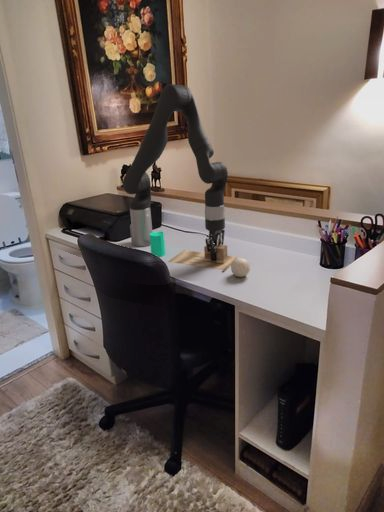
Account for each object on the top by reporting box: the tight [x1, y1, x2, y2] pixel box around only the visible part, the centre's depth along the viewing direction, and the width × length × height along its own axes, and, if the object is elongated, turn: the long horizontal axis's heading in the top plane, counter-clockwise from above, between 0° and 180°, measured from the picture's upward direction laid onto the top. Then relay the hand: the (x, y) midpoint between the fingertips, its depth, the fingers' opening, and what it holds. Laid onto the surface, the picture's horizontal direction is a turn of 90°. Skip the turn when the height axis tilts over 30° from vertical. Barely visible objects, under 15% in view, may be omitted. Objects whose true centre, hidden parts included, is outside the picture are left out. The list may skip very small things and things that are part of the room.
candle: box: [149, 229, 166, 258], centre depth 160 cm, size 6×6×12 cm
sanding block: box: [203, 244, 228, 263], centre depth 150 cm, size 8×4×6 cm, turn 64°
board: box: [168, 249, 237, 273], centre depth 154 cm, size 24×14×1 cm, turn 64°
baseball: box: [230, 257, 251, 278], centre depth 138 cm, size 7×7×7 cm
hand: (216, 258), depth 151 cm, fingers closed on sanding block, 4 cm apart
